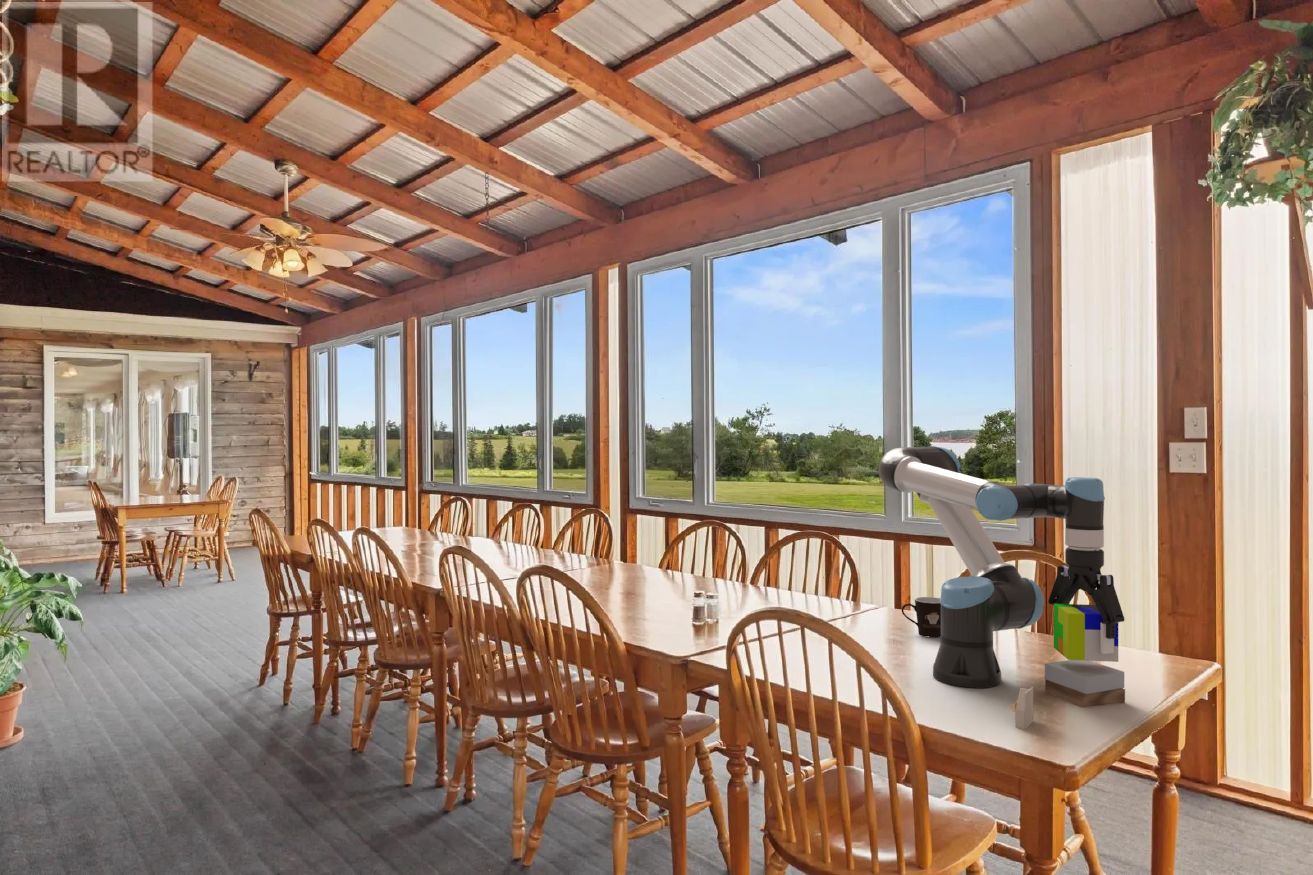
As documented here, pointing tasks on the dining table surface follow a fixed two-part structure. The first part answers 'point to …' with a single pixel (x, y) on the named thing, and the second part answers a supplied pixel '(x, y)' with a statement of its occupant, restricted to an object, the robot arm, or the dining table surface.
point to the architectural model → (1023, 708)
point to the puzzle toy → (1080, 633)
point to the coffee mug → (927, 616)
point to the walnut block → (1085, 695)
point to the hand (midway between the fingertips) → (1084, 645)
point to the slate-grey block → (1084, 676)
